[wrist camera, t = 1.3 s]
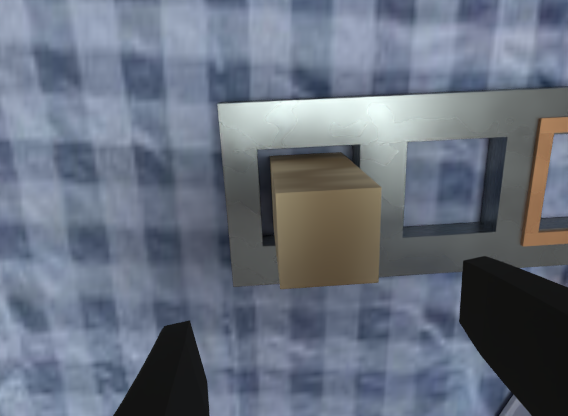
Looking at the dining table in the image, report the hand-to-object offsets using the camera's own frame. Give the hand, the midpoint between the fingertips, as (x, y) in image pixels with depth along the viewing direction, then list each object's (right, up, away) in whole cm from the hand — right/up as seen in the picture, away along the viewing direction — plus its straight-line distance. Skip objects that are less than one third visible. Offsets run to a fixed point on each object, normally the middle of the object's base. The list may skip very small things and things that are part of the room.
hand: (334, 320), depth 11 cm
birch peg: (0, +4, +10) cm, 11 cm away
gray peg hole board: (+7, +4, +11) cm, 13 cm away
